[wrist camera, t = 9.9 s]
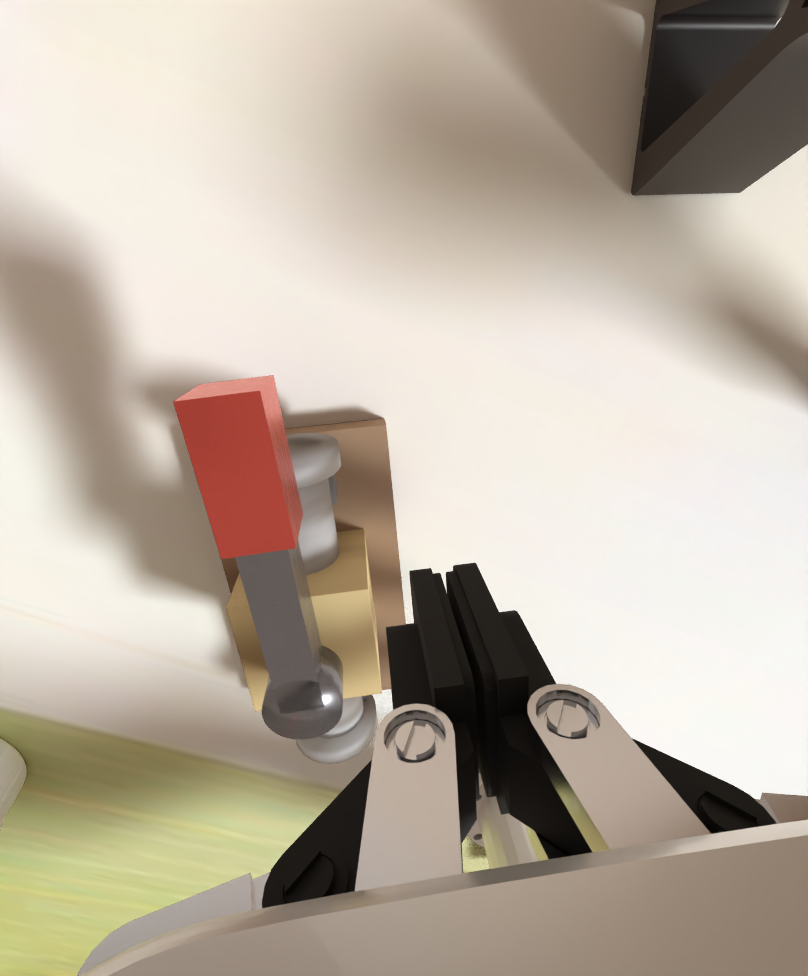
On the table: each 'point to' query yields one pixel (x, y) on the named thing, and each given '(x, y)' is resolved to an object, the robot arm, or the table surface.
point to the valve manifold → (339, 573)
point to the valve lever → (264, 543)
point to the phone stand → (722, 95)
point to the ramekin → (10, 777)
